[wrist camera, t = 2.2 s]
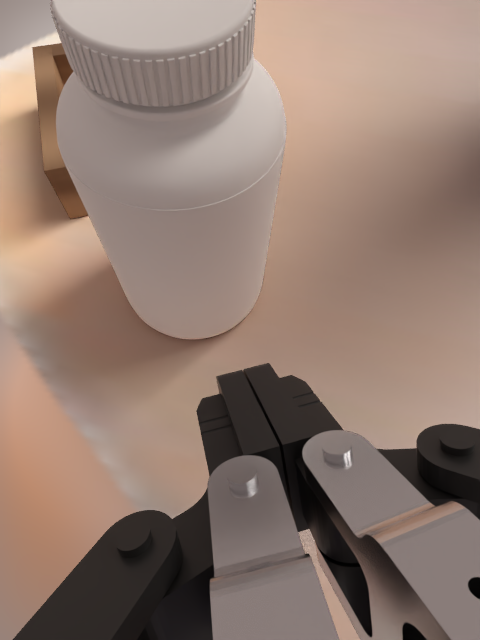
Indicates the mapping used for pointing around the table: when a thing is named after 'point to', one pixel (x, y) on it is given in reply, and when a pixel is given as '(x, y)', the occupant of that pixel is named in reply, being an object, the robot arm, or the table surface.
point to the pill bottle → (173, 152)
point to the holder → (54, 122)
